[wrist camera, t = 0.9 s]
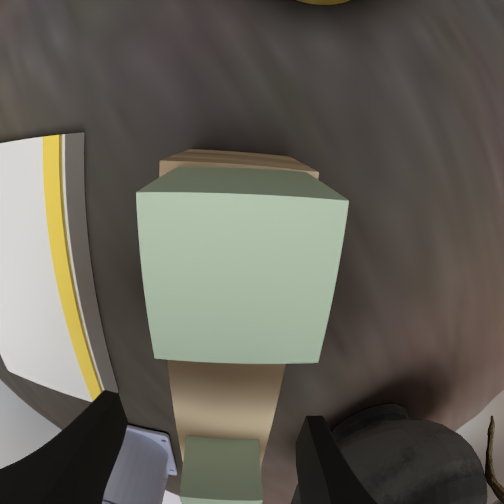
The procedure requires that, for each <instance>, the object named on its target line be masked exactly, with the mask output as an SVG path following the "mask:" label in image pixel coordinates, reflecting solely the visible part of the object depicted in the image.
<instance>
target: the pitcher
mask: <svg viewBox="0 0 504 504" xmlns="http://www.w3.org/2000/svg"><path fill="white" fill-rule="evenodd" d="M331 434H332V436H333V438H334V440H335V442H336V444H337V446H338V447H339V449H340V451H341V453H342V454H343V456H344V458H345V459H346V461H347V463H348V464H349V466H350V468H351V469H352V471H353V472H354V474H355V475H356V477H357V478H358V480H359V481H360V482H361V484H362V485H363V486H364V488H365V489H366V490H367V491H368V493H369V494H370V495H371V496H372V497H373V499H374V500H375V501H376V502H377V503H378V504H486V503H487V483H488V484H489V486H490V487H491V488H492V490H493V492H494V493H495V495H496V496H497V498H498V499H499V500H500V501H501V502H502V503H503V504H504V488H503V487H502V486H501V485H500V484H499V483H498V482H497V480H496V478H495V474H494V469H493V465H492V447H493V438H494V419H493V416H491V422H490V425H489V428H488V445H487V451H486V464H485V474H484V470H483V467H482V464H481V461H480V459H479V458H478V456H477V454H476V453H475V451H474V449H473V448H472V446H471V445H470V444H469V443H468V442H467V441H466V440H465V439H464V438H463V437H462V436H461V435H459V434H458V433H456V432H454V431H452V430H451V429H449V428H447V427H446V426H444V425H442V424H438V423H435V422H431V421H428V420H410V417H409V415H408V413H407V411H406V409H405V408H404V407H402V406H399V405H397V404H382V405H378V406H375V407H371V408H368V409H364V410H362V411H360V412H358V413H356V414H354V415H352V416H350V417H348V418H347V419H345V420H344V421H343V422H341V423H340V424H338V425H337V426H336V427H335V429H334V430H333V431H332V432H331ZM291 504H301V499H300V491H299V483H298V485H297V487H296V490H295V493H294V496H293V499H292V502H291Z"/></svg>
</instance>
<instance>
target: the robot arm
mask: <svg viewBox="0 0 504 504" xmlns="http://www.w3.org/2000/svg"><path fill="white" fill-rule="evenodd" d="M296 468H297V476H298V483H299V491H300V499H301V504H378V503H377V502H376V501H375V500H374V499H373V497H372V496H371V495H370V494H369V493H368V491H367V490H366V489H365V488H364V486H363V485H362V484H361V482H360V481H359V480H358V478H357V477H356V475H355V474H354V472H353V471H352V469H351V468H350V466H349V464H348V463H347V461H346V459H345V458H344V456H343V454H342V453H341V451H340V449H339V447H338V446H337V444H336V442H335V440H334V438H333V436H332V434H331V432H330V430H329V428H328V425H327V423H326V421H325V419H324V417H323V416H306V418H305V421H304V424H303V426H302V429H301V432H300V434H299V437H298V439H297V442H296ZM168 474H170V475H177V468H176V464H175V460H174V456H173V452H172V447H171V443H170V439H169V436H168V435H167V434H166V433H162V432H157V431H152V430H147V429H143V428H139V427H134V426H130V425H128V421H127V418H126V415H125V412H124V409H123V406H122V403H121V400H120V397H119V394H118V393H115V392H111V391H108V390H104V391H102V392H101V393H100V394H99V395H98V396H97V398H96V399H95V400H94V401H93V402H92V403H91V404H90V405H89V406H88V407H87V408H86V409H85V410H84V411H83V412H82V413H81V414H80V415H79V416H78V417H77V418H75V419H74V420H73V421H72V422H71V423H70V424H69V425H68V426H67V427H66V428H65V429H63V430H62V431H61V432H60V433H59V434H58V435H56V436H55V437H54V438H53V439H52V440H50V441H49V442H48V443H46V444H45V445H43V446H42V447H41V448H39V449H38V450H36V451H35V452H33V453H31V454H30V455H28V456H26V457H25V458H23V459H21V460H19V461H17V462H15V463H13V464H11V465H9V466H6V467H4V468H2V469H0V504H162V501H163V496H164V492H165V487H166V483H167V478H168Z"/></svg>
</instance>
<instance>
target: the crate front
mask: <svg viewBox="0 0 504 504" xmlns="http://www.w3.org/2000/svg"><path fill="white" fill-rule="evenodd" d="M136 202H137V220H138V235H139V247H140V258H141V268H142V277H143V286H144V294H145V301H146V309H147V316H148V322H149V329H150V335H151V341H152V347H153V352H154V358H156V359H167V360H179V361H193V362H211V363H240V364H291V363H318V361H319V357H320V352H321V348H322V344H323V340H324V336H325V331H326V327H327V322H328V318H329V313H330V309H331V304H332V299H333V294H334V289H335V284H336V279H337V273H338V268H339V262H340V257H341V251H342V245H343V239H344V232H345V226H346V219H347V212H348V205H349V200H347V199H346V198H344V197H343V196H341V195H340V194H339V193H337V192H336V191H334V190H333V189H331V188H330V187H328V186H327V185H325V184H324V183H322V182H321V181H319V180H318V179H316V178H315V177H313V176H311V175H310V174H308V173H307V172H300V171H287V170H272V169H254V168H229V167H176V168H174V169H173V170H171V171H169V172H168V173H166V174H164V175H163V176H161V177H160V178H158V179H156V180H155V181H153V182H151V183H150V184H148V185H147V186H145V187H144V188H142V189H140V190H139V191H137V192H136Z"/></svg>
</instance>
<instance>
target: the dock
mask: <svg viewBox="0 0 504 504" xmlns="http://www.w3.org/2000/svg"><path fill="white" fill-rule="evenodd" d="M0 354H1V357H2V359H3V361H4V363H5V365H6V367H7V369H8V371H10V372H12V373H14V374H16V375H19V376H21V377H23V378H26V379H28V380H30V381H33V382H35V383H38V384H40V385H43V386H46V387H48V388H51V389H54V390H56V391H59V392H62V393H65V394H68V395H71V396H74V397H77V398H80V399H83V400H86V401H90V402H93V401H94V400H95V399H96V398H97V396H98V395H99V394H100V393H101V392H102V391H104V390H108V391H111V392H115V393H118V387H117V384H116V381H115V377H114V373H113V370H112V366H111V362H110V359H109V355H108V351H107V346H106V342H105V338H104V333H103V329H102V324H101V319H100V314H99V309H98V304H97V298H96V293H95V287H94V280H93V274H92V267H91V259H90V251H89V242H88V232H87V220H86V206H85V185H84V132H83V133H71V134H61V135H52V136H44V137H37V138H30V139H23V140H17V141H11V142H5V143H0Z"/></svg>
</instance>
